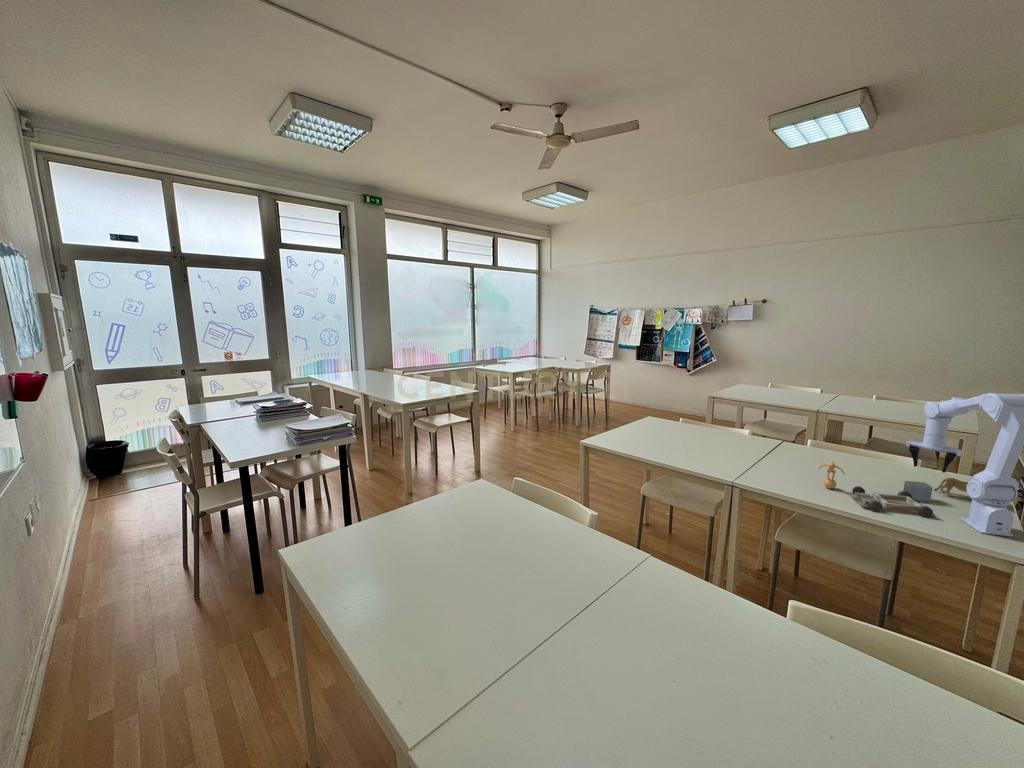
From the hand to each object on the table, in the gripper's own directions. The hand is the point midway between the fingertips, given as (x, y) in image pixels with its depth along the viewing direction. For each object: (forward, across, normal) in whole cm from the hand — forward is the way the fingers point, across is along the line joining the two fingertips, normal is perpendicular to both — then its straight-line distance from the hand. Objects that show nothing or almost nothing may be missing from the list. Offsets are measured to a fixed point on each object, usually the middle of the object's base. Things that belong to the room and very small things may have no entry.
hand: (929, 468), depth 156 cm
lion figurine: (+10, -9, -6) cm, 15 cm away
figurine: (+10, +24, +22) cm, 35 cm away
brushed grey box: (+10, +1, +8) cm, 13 cm away
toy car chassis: (+10, +6, +22) cm, 25 cm away
